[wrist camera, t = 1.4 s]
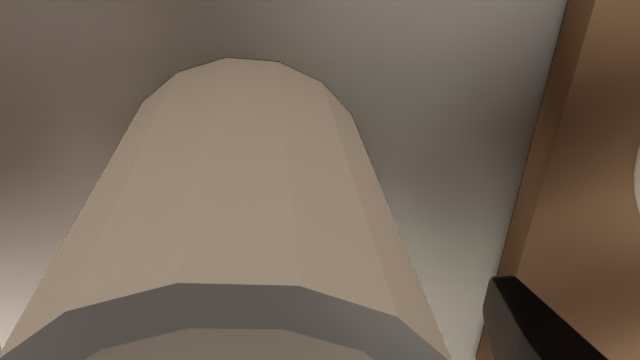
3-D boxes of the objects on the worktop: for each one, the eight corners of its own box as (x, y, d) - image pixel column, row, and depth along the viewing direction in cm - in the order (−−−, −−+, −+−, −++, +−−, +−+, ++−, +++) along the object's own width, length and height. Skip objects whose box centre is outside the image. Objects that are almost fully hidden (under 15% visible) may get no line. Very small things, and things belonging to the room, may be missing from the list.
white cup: (305, -32, 11) (341, 198, 5) (427, 201, 15) (520, 472, 9) (32, 118, 12) (-154, 416, 7) (208, 293, 16) (178, 571, 11)
